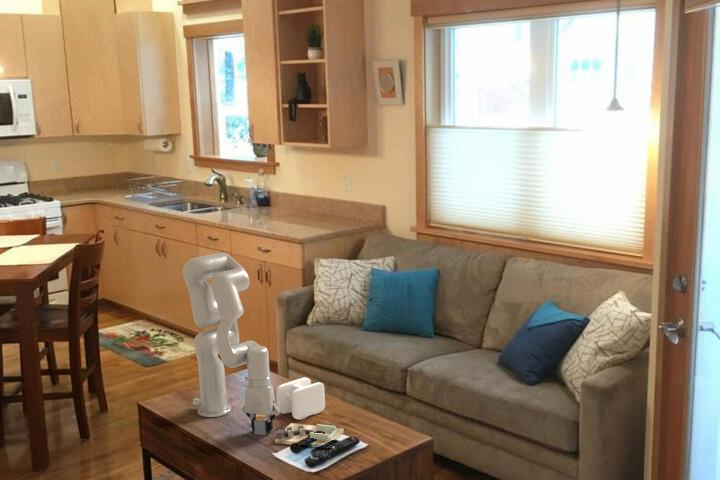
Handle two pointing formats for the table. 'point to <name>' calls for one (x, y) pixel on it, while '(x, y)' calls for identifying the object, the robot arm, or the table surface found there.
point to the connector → (260, 425)
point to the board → (309, 427)
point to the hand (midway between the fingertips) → (262, 430)
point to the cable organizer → (300, 398)
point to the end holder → (325, 429)
